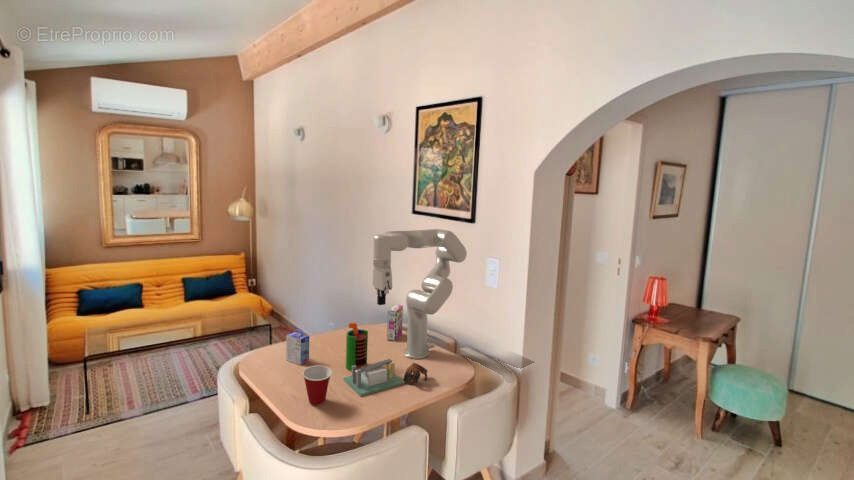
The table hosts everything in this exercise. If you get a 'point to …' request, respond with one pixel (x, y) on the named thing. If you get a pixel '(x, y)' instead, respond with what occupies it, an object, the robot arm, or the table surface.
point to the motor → (356, 347)
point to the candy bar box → (394, 322)
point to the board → (375, 387)
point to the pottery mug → (414, 373)
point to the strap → (374, 365)
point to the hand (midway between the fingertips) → (381, 304)
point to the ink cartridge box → (297, 347)
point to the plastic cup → (317, 383)
